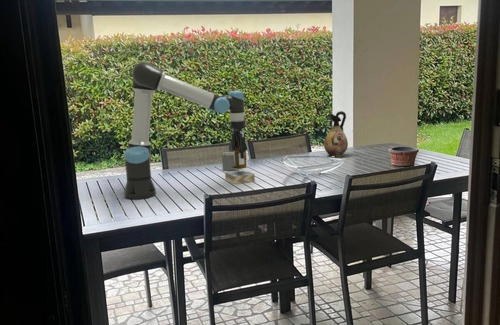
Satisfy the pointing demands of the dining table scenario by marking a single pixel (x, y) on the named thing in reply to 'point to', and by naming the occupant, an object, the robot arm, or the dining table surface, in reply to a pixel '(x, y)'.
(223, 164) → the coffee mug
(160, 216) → the dining table surface
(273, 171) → the dining table surface
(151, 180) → the robot arm
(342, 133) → the ceramic jug
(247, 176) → the plinth
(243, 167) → the condiment
